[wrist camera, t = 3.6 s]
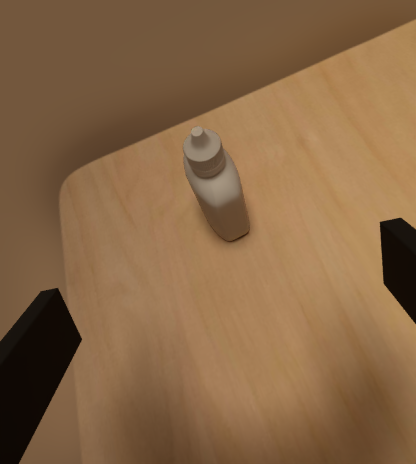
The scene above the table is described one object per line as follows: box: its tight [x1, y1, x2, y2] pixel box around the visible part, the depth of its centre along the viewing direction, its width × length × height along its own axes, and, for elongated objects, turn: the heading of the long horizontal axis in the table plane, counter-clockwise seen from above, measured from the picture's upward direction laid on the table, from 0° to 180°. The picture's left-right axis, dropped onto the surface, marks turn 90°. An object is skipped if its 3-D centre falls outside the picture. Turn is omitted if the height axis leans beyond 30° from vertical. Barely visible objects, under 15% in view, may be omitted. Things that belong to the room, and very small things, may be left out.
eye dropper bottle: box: [183, 126, 249, 241], centre depth 27 cm, size 4×6×12 cm
